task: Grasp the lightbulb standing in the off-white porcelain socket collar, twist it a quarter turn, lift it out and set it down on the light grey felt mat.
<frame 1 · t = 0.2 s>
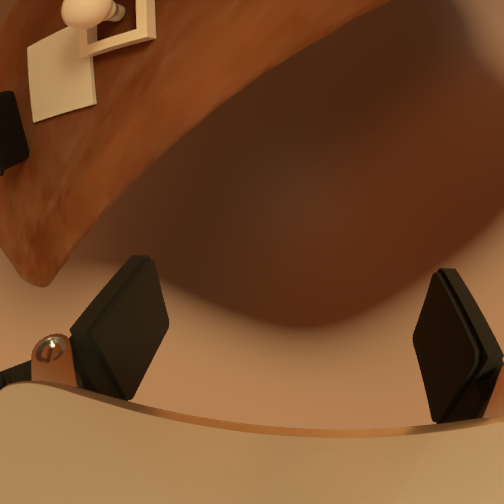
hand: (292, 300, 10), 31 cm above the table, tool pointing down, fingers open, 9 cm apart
film camera: (10, 130, 41), on the table
lightbulb: (120, 14, 30), resting in socket collar
socket collar: (119, 13, 30), on the table
felt mat: (59, 72, 35), on the table
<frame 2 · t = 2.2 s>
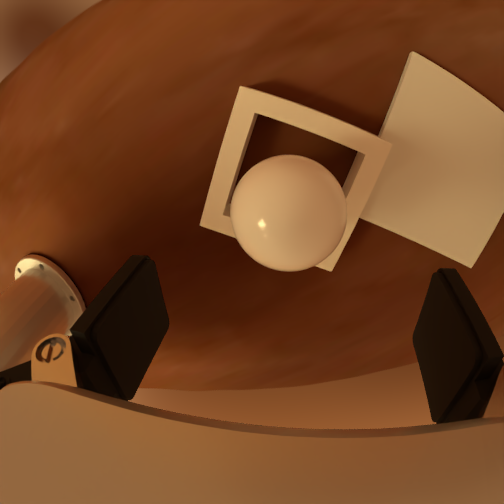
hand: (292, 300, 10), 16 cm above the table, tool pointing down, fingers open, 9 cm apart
lightbulb: (292, 174, 24), resting in socket collar
socket collar: (292, 175, 24), on the table
felt mat: (451, 168, 21), on the table
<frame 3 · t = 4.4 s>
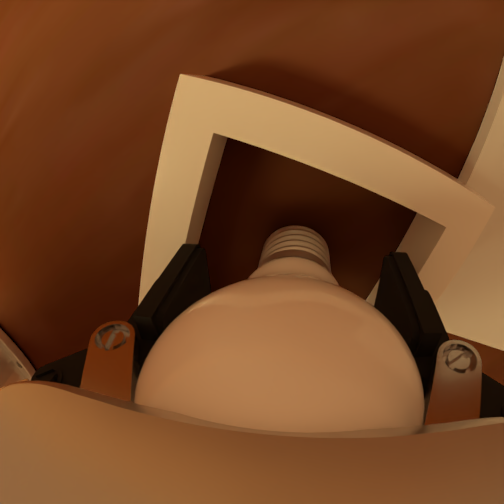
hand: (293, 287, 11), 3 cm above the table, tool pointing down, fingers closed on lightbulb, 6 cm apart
lightbulb: (296, 245, 13), resting in socket collar, touching gripper
socket collar: (296, 248, 13), on the table
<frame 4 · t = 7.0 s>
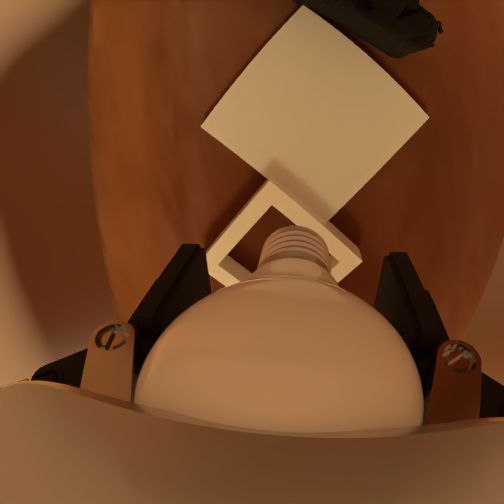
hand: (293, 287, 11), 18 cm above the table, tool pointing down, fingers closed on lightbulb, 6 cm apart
lightbulb: (296, 245, 13), point 15 cm above the table, touching gripper
socket collar: (279, 250, 31), on the table
felt mat: (316, 114, 24), on the table
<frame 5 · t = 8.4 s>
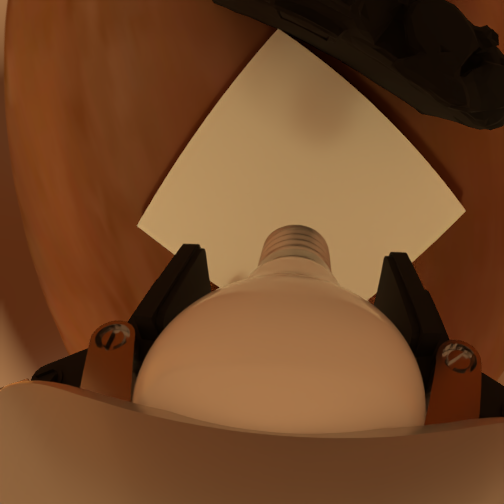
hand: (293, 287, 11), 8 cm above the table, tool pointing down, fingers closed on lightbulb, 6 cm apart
lightbulb: (296, 244, 13), point 5 cm above the table, touching gripper
felt mat: (299, 209, 17), on the table
when the fingers open (5 cm above the table, at t = 9.6 s): lightbulb drops 1 cm, resting on felt mat.
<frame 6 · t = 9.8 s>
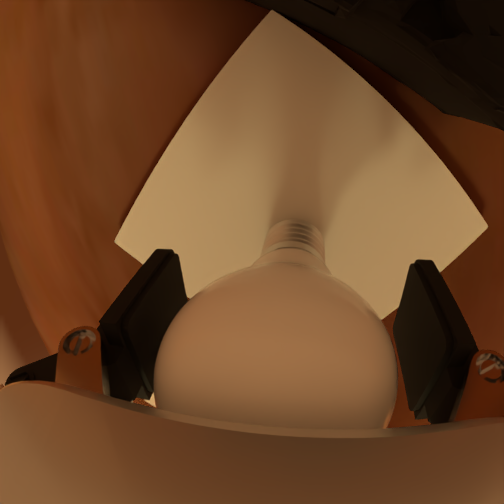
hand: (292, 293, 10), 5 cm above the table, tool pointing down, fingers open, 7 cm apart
lightbulb: (295, 237, 15), point 1 cm above the table, touching felt mat
felt mat: (298, 224, 15), on the table
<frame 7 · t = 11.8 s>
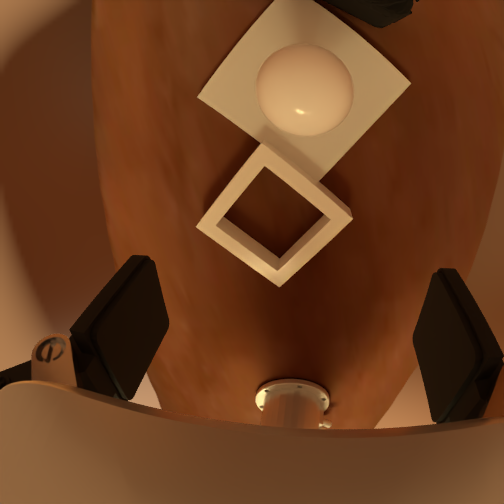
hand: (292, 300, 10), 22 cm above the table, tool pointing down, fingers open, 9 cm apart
lightbulb: (303, 87, 25), point 1 cm above the table, touching felt mat
socket collar: (274, 211, 32), on the table
felt mat: (304, 83, 25), on the table
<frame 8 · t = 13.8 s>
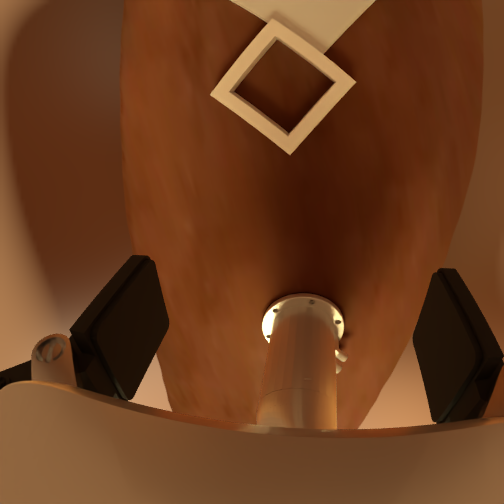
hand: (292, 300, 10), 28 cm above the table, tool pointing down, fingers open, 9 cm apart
socket collar: (283, 85, 31), on the table
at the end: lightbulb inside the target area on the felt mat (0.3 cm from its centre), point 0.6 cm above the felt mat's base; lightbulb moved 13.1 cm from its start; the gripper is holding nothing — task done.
